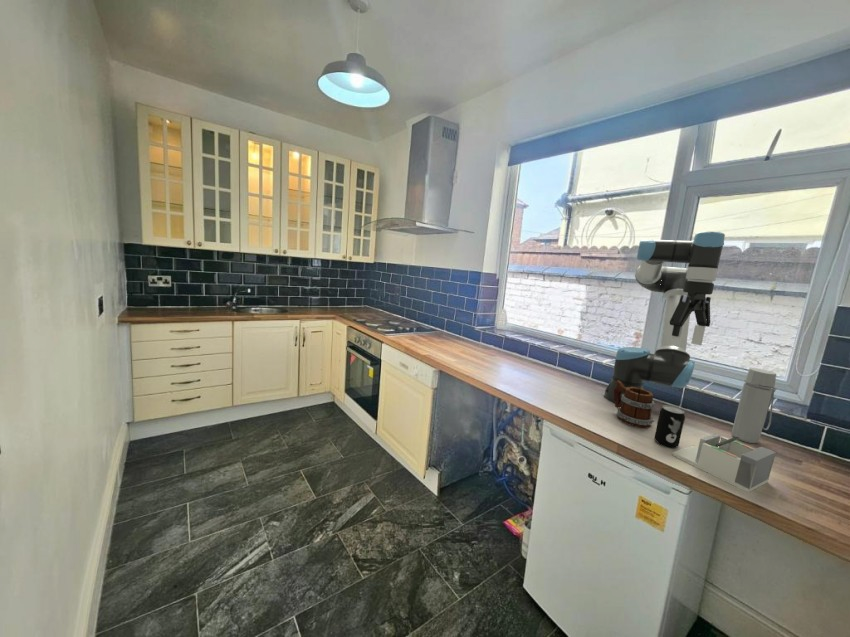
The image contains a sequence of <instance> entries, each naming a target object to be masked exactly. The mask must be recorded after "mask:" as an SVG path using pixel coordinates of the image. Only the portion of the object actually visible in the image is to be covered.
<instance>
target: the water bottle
mask: <svg viewBox="0 0 850 637" xmlns="http://www.w3.org/2000/svg"><path fill="white" fill-rule="evenodd" d="M776 379H777V373H776V372H773V371H771V370H767V369H761V368H755V367H750V368H748V371H747V374H746V377H745V379H744V383H743V387H742V390H741V394H740V398H739V403H738V405H737V406H738V407H737V411H736V413H735V416H734V417H735V418H734V422H733V425H732V430H731V436H733V438H734V437H738V438H739V439H738V440H739V441H742V442H744V443H748V444H758V443H759V442H760V439H761V436H762V433H763V432H762V431H763V430H765V431H768V430H769V428H770V426H771V424H772V414H773V406H774V396H775V393H776V391H777V390H778V388H777V387H775V386H776ZM769 409H770V411H769ZM768 412H769V413H768ZM768 414H769V420H768V424H767V426H766V428H765V427H764V426H765V423H766V419H767V415H768Z"/></svg>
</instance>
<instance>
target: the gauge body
mask: <svg viewBox="0 0 850 637" xmlns="http://www.w3.org/2000/svg"><path fill="white" fill-rule="evenodd" d="M728 439H729V438H727V437H725V436H720V440H719V443H720V442H723V441H725V440H728ZM730 443H731V445H730V449H729V452H726V451H724V450H722V447H723V445H721V446H719V447H718V448H717V447H715V446H711V445H708V444H706V443H703V444H702V448H701V453H700V457H699V461H696V456H697V451H698V447H699V446H696V445H690V446H687V447H684V448H682V449H679V450H676V451H673V452H672V456H673V455H674V456H673V457H675V456H676V457H675V458H678V459H679V460H682V461H684V462H685V463H688V464H689V465H691V466H693V467H696V468H698V469H699V470H701V471H704V472H706V473H707V472H708V473H707V474H710V475H711V476H713V477H716V478H718V479H719V480H722V481H724V482H726V483H728V484H730V485H732V486H734V487H735V488H738V489H740V490H742V491H744V492H746V493H750V492H752V491H754V490H756V489H758V488H759V487H762V486H763V485H765V484H767V483H769V479H770V475H771V471H772V468H773V464H774V461H775V457H776V453H777V452H776V451H774V450H771V449H769V448H766V447H763V446H759V447H757V448H754V447H752V446H750V445H747V444H744V443H743V442H742V443H741V442H739V441H737V440H735V441H732V442H730Z"/></svg>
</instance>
